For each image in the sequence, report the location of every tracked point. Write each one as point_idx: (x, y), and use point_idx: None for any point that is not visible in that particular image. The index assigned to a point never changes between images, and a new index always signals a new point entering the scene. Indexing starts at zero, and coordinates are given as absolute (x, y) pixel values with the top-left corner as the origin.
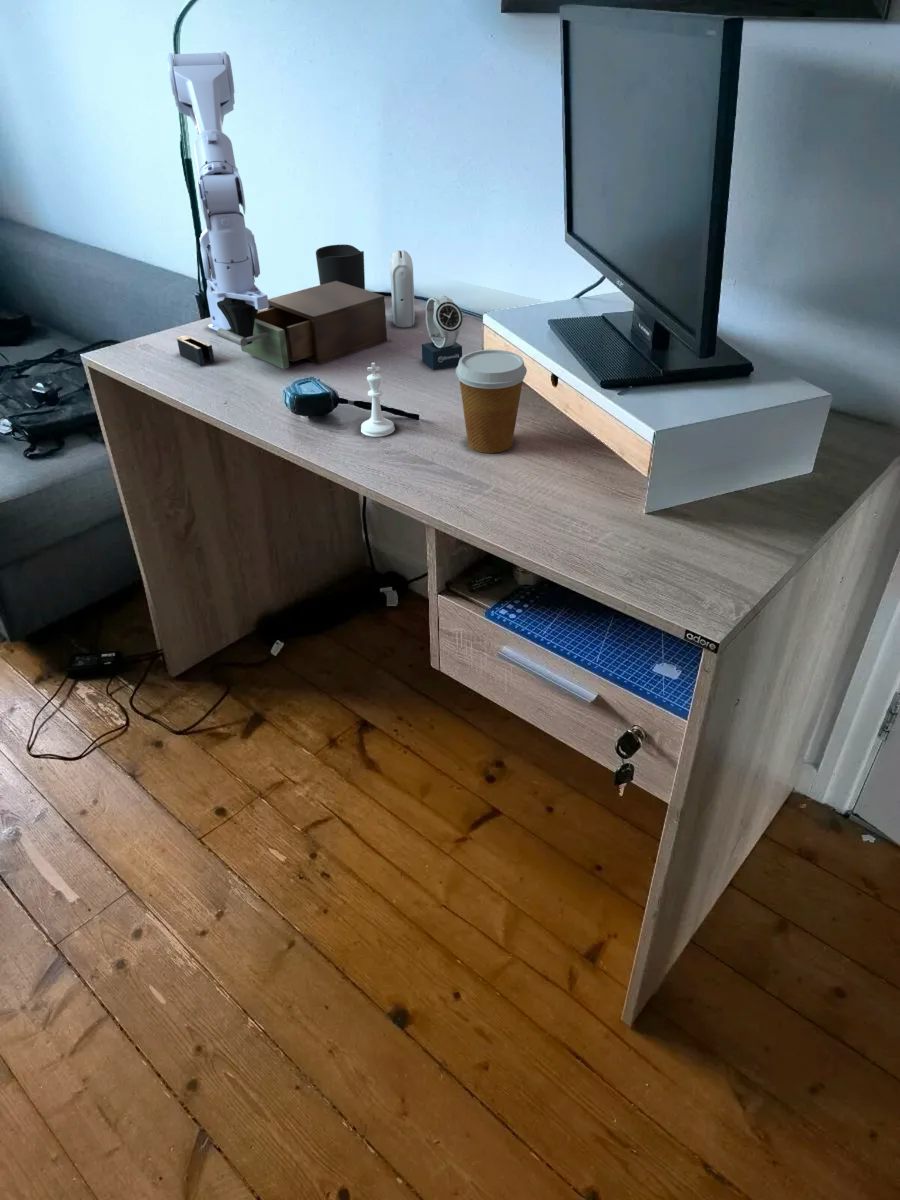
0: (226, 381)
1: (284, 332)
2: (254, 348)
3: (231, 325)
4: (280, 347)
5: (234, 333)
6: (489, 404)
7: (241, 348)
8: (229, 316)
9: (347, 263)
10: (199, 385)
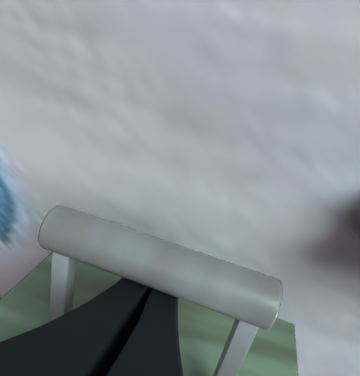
0: (179, 103)
1: None
2: (202, 314)
3: (150, 325)
4: (17, 285)
5: (132, 278)
6: None
7: (294, 331)
8: (111, 369)
9: None
10: (247, 7)
